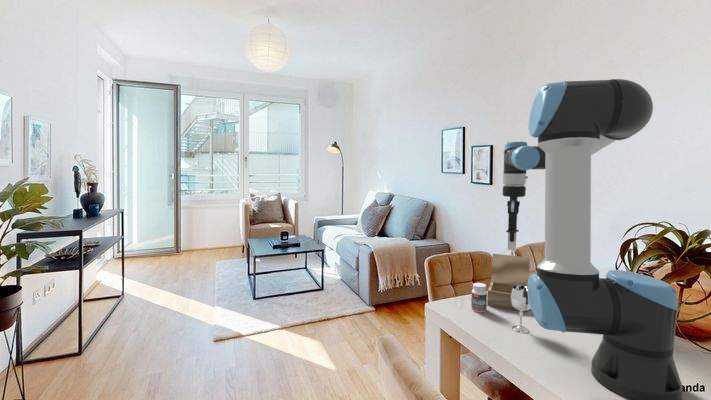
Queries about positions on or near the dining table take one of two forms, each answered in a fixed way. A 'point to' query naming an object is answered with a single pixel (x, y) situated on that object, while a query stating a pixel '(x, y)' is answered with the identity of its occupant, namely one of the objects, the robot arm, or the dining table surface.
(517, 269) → the lid
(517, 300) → the wineglass
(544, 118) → the robot arm
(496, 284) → the crate
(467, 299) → the dining table surface
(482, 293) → the pill bottle
